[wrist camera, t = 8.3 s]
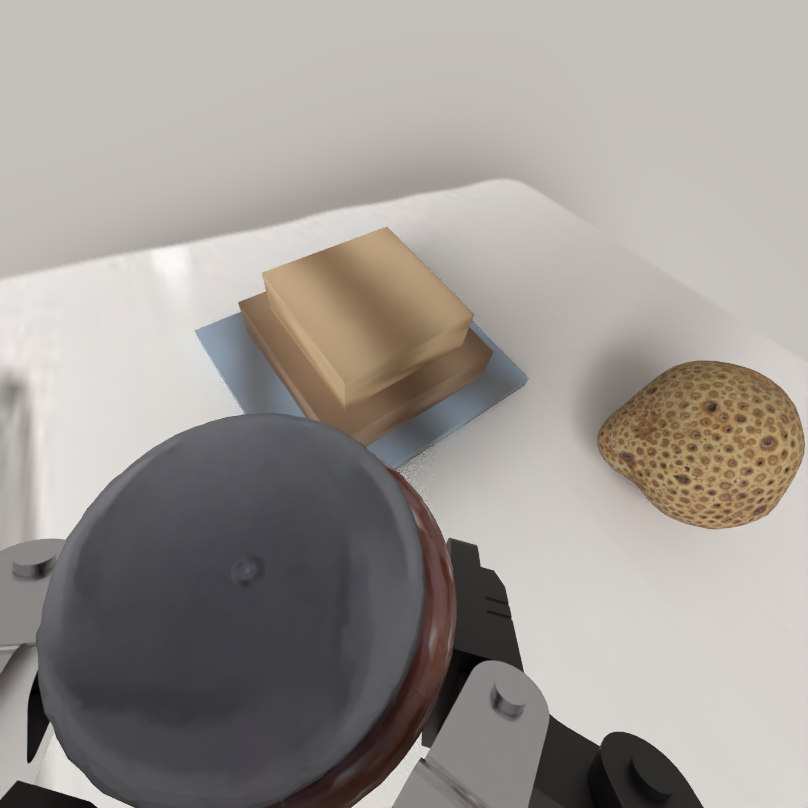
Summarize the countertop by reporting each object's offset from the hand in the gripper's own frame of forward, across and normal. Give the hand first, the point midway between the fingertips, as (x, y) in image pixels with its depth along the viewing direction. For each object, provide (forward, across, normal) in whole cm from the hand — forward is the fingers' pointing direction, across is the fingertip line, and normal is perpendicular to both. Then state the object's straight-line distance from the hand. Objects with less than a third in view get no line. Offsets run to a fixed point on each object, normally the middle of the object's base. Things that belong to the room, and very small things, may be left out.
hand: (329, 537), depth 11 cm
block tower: (+20, +3, -1) cm, 20 cm away
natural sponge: (+18, -18, +1) cm, 25 cm away
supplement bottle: (+2, 0, +5) cm, 5 cm away
